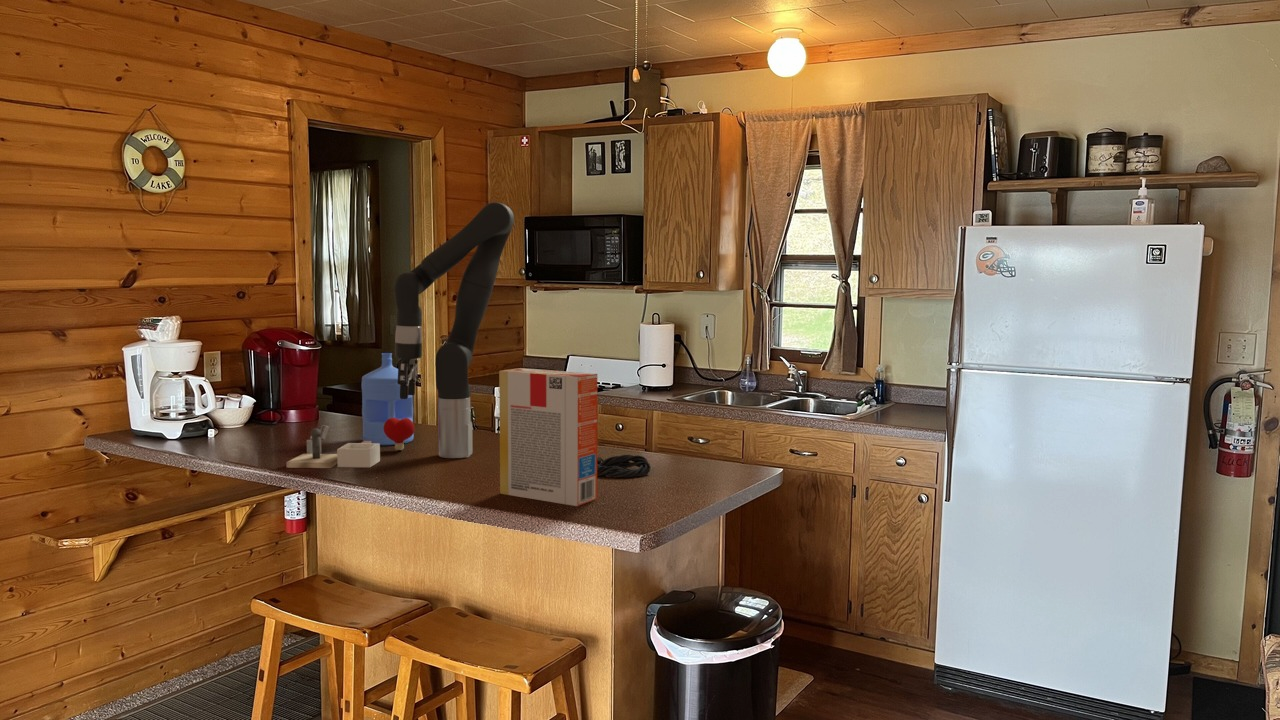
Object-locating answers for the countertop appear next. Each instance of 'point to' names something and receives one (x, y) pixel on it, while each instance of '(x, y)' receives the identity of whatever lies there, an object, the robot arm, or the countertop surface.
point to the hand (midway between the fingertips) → (407, 396)
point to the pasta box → (548, 435)
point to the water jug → (383, 402)
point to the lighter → (322, 437)
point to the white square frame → (358, 454)
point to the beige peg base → (314, 456)
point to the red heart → (399, 431)
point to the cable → (622, 466)
